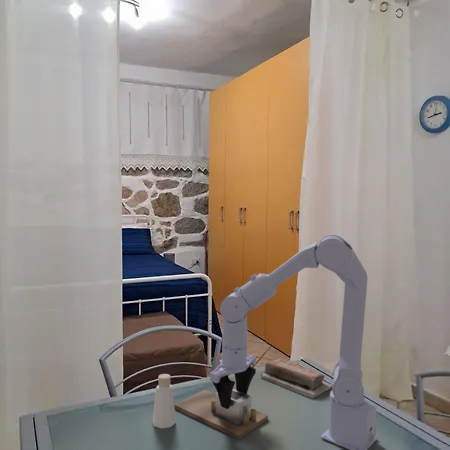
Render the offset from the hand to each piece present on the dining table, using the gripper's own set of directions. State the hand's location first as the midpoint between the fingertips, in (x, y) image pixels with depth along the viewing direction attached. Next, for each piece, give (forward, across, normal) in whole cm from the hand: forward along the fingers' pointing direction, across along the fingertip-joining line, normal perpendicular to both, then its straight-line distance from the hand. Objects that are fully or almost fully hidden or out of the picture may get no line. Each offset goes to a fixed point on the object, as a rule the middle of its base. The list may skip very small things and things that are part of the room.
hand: (233, 402), depth 102 cm
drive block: (+3, 0, 0) cm, 3 cm away
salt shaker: (+4, +12, -11) cm, 16 cm away
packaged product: (+5, -28, 0) cm, 28 cm away
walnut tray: (+4, 0, -4) cm, 6 cm away
